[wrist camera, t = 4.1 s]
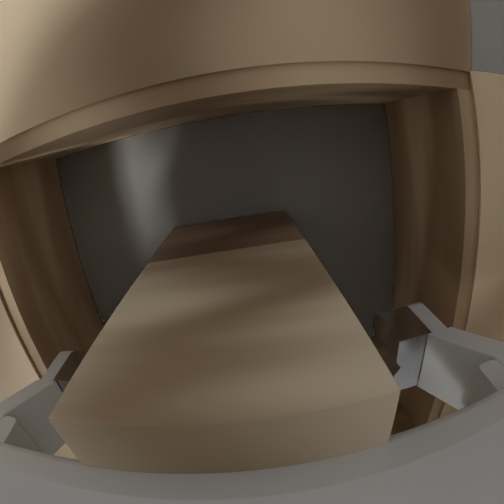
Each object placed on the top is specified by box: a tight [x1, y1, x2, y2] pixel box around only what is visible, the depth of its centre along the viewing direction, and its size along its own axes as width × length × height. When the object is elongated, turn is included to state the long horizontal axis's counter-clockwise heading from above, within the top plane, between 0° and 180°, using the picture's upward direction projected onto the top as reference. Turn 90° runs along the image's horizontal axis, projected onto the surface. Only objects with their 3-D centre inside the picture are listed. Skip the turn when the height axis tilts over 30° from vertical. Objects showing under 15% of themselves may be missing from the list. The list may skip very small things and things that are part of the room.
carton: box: [0, 0, 504, 460], centre depth 10 cm, size 23×23×6 cm
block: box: [48, 210, 400, 474], centre depth 9 cm, size 4×6×10 cm
